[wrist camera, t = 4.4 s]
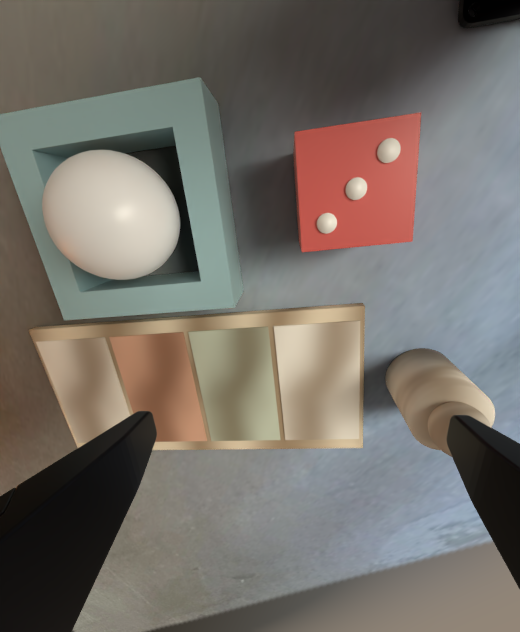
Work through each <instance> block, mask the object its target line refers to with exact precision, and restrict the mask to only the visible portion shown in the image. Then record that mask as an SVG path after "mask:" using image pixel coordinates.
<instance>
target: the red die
mask: <svg viewBox="0 0 520 632" xmlns="http://www.w3.org/2000/svg"><path fill="white" fill-rule="evenodd" d="M420 123H421V113H415V114H408V115H401V116H395V117H388V118H382V119H375V120H369V121H362V122H356V123H349V124H343V125H336V126H329V127H323V128H316V129H310V130H303V131H297V132H295V133H294V149H293V158H294V173H295V189H296V205H297V221H298V237H299V244H300V247H301V251H302V252H310V251H320V250H330V249H340V248H350V247H361V246H371V245H381V244H391V243H401V242H411V241H412V240H413V225H414V211H415V196H416V182H417V167H418V153H419V138H420Z"/></svg>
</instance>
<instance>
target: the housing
mask: <svg viewBox="0 0 520 632" xmlns="http://www.w3.org/2000/svg"><path fill="white" fill-rule="evenodd" d="M169 146H176V148H177V154H178V159H179V164H180V170H181V175H182V181H183V186H184V191H185V197H186V202H187V208H188V213H189V218H190V224H191V229H192V235H193V240H194V245H195V251H196V256H197V262H198V267H199V271H193V272H183V273H172V274H162V275H151V276H142V277H139V278H135V279H129V280H115V279H107V278H103V277H99V276H96V275H94V274H91V273H89V272H87V271H85V270H83V269H81V268H79V267H78V266H76V265H75V264H74V263H72V262H71V261H70V260H69V259H67V258H66V257H65V256H64V255H63V254H62V253H61V251H60V250H59V249H58V248H57V247H56V245H55V244H54V242H53V241H52V239H51V237H50V235H49V233H48V230H47V228H46V225H45V222H44V217H43V211H42V198H43V192H44V189H45V186H46V183H47V181H48V179H49V177H50V176H51V174H52V173H53V171H54V170H55V169H56V168H57V167H58V166H59V165H60V164H61V163H62V162H64V161H65V160H66V159H68V158H69V157H71V156H74V155H76V154H78V153H81V152H85V151H89V150H112V151H117V152H121V153H131V152H137V151H143V150H150V149H156V148H163V147H169ZM0 148H1V151H2V153H3V156H4V159H5V161H6V164H7V167H8V170H9V172H10V175H11V178H12V180H13V183H14V186H15V189H16V191H17V194H18V197H19V199H20V202H21V205H22V207H23V210H24V213H25V216H26V218H27V221H28V224H29V226H30V229H31V232H32V235H33V237H34V240H35V243H36V245H37V248H38V251H39V254H40V256H41V259H42V262H43V264H44V267H45V270H46V273H47V275H48V278H49V281H50V283H51V286H52V289H53V291H54V294H55V297H56V300H57V302H58V305H59V308H60V310H61V313H62V316H63V319H64V320H77V319H90V318H103V317H116V316H129V315H143V314H156V313H169V312H182V311H196V310H209V309H222V308H235V306H236V304H237V302H238V301H239V299H240V297H241V295H242V293H243V292H244V290H243V283H242V275H241V268H240V261H239V253H238V246H237V238H236V231H235V223H234V216H233V209H232V201H231V194H230V186H229V179H228V172H227V164H226V157H225V149H224V142H223V134H222V127H221V120H220V112H219V105H218V102H217V101H216V100H215V98H214V97H213V95H212V94H211V92H210V91H209V89H208V88H207V86H206V85H205V83H204V82H203V80H202V79H201V77H198V78H193V79H187V80H182V81H176V82H171V83H166V84H160V85H155V86H149V87H144V88H139V89H133V90H128V91H122V92H117V93H112V94H106V95H101V96H95V97H90V98H85V99H79V100H74V101H69V102H63V103H58V104H52V105H47V106H42V107H36V108H31V109H25V110H20V111H15V112H9V113H4V114H0Z"/></svg>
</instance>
